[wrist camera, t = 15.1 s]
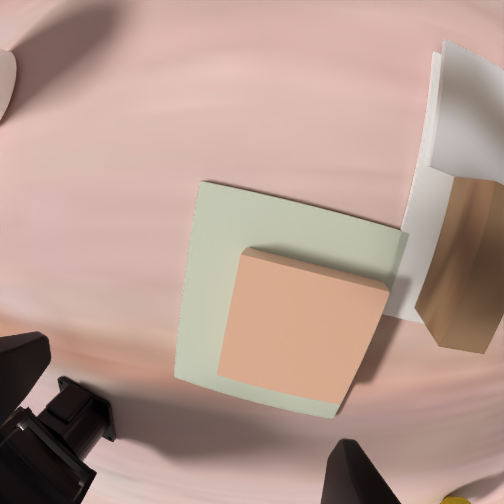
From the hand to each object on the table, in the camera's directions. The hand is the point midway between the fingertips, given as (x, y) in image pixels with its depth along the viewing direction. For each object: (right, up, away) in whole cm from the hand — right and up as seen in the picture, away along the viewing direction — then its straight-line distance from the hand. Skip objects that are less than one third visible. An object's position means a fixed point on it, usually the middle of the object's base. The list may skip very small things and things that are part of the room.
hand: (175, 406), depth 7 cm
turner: (+15, +8, +7) cm, 18 cm away
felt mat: (+4, 0, +11) cm, 12 cm away
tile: (+1, 0, +10) cm, 10 cm away
